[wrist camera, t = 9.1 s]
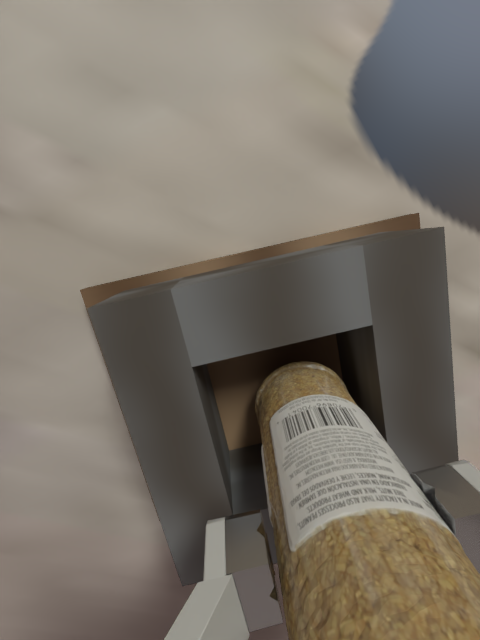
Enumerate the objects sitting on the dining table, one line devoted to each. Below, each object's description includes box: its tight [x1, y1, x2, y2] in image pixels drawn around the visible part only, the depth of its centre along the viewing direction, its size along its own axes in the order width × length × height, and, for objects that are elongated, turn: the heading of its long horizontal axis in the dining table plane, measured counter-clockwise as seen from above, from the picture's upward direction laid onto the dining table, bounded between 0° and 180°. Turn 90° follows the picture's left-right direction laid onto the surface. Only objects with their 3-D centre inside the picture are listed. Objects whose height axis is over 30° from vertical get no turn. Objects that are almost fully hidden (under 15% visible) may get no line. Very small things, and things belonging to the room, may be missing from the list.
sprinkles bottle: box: [255, 361, 480, 640], centre depth 9 cm, size 5×5×13 cm
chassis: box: [80, 213, 458, 586], centre depth 15 cm, size 17×14×6 cm
